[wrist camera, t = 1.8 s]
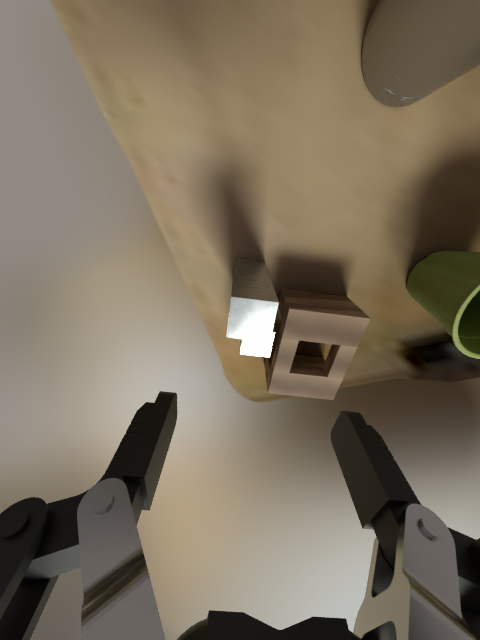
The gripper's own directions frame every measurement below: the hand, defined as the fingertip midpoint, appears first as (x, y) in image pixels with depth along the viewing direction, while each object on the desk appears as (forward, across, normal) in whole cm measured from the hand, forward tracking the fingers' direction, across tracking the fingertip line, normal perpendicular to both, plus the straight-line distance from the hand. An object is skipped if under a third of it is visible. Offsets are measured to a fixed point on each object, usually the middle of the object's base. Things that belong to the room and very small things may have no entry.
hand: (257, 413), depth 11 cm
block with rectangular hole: (+24, -10, +8) cm, 27 cm away
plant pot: (+24, -26, -3) cm, 35 cm away
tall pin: (+24, 0, 0) cm, 24 cm away
